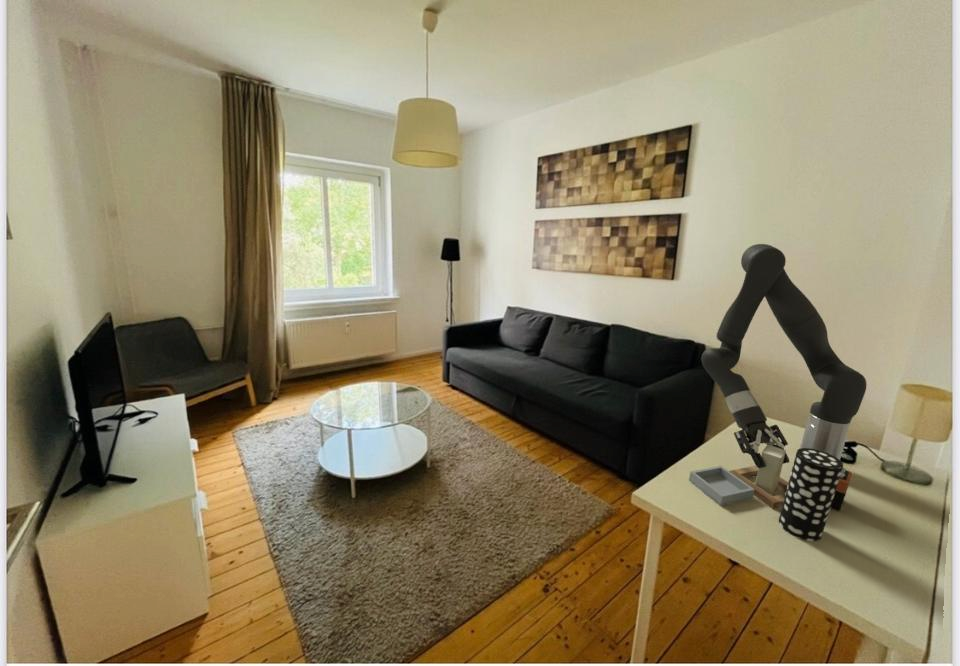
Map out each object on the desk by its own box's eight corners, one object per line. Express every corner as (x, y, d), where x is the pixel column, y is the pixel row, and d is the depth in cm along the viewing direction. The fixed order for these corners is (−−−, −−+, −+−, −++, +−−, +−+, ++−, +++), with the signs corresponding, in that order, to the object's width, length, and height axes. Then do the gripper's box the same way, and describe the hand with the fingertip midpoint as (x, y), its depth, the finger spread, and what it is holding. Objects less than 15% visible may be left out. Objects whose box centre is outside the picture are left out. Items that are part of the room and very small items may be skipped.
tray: (719, 474, 116) (720, 465, 115) (752, 498, 106) (754, 489, 105) (688, 480, 113) (690, 471, 112) (720, 506, 103) (722, 496, 102)
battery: (818, 503, 104) (827, 471, 101) (822, 492, 108) (832, 461, 106) (839, 512, 101) (850, 479, 98) (843, 500, 105) (853, 469, 103)
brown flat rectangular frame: (758, 470, 118) (760, 464, 117) (806, 501, 105) (808, 494, 104) (727, 476, 115) (728, 470, 114) (772, 509, 102) (774, 502, 101)
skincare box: (771, 497, 106) (781, 459, 103) (752, 489, 110) (761, 451, 106) (777, 487, 110) (787, 450, 107) (759, 480, 114) (767, 443, 110)
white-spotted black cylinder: (771, 514, 100) (789, 446, 95) (807, 518, 99) (827, 449, 93) (790, 538, 92) (810, 466, 87) (829, 543, 91) (853, 470, 85)
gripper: (735, 407, 109) (765, 466, 102) (774, 402, 113) (805, 458, 106) (716, 415, 116) (743, 471, 108) (753, 410, 119) (782, 464, 112)
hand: (774, 465), depth 107 cm, fingers open, 8 cm apart
